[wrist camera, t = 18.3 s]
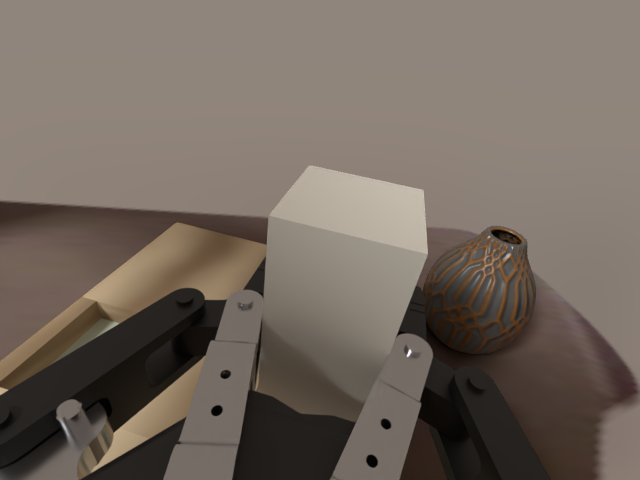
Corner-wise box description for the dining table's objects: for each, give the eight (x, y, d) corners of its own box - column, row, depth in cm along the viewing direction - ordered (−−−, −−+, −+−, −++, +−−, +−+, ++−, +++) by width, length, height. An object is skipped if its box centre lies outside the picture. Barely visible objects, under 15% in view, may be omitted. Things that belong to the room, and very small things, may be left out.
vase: (394, 308, 27) (428, 212, 22) (458, 293, 29) (501, 204, 25) (453, 383, 22) (514, 279, 17) (524, 356, 24) (595, 260, 19)
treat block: (254, 449, 15) (268, 215, 8) (283, 374, 18) (309, 165, 12) (341, 478, 14) (427, 254, 8) (354, 395, 18) (423, 190, 11)
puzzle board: (-52, 443, 15) (-74, 419, 14) (178, 241, 30) (176, 222, 29) (382, 607, 13) (396, 594, 12) (399, 298, 28) (405, 280, 27)
